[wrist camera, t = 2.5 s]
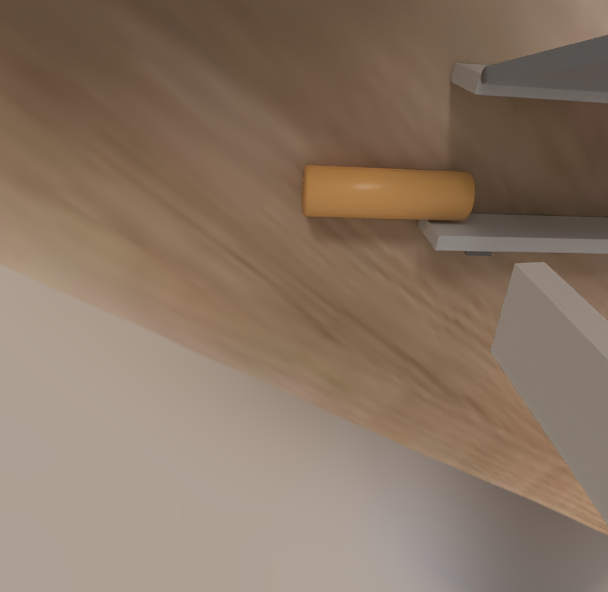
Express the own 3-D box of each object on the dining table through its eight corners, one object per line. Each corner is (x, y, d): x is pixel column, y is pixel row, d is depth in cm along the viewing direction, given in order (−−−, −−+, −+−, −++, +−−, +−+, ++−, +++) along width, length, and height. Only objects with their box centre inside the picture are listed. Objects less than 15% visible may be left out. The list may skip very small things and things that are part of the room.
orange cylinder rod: (301, 172, 31) (301, 219, 31) (309, 158, 28) (308, 211, 28) (452, 177, 32) (452, 223, 32) (475, 166, 29) (474, 216, 29)
